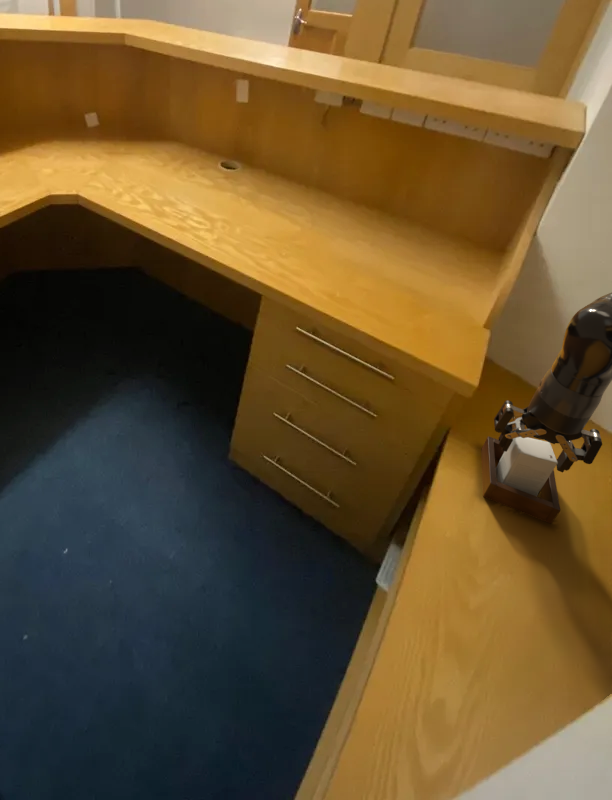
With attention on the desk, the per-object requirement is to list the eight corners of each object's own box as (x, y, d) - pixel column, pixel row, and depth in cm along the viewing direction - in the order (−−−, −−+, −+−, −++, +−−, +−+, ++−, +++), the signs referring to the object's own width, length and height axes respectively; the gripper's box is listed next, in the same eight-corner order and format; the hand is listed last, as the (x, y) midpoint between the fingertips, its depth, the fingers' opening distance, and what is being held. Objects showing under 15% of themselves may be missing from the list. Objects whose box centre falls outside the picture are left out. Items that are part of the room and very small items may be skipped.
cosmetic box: (527, 480, 97) (551, 442, 91) (533, 502, 93) (559, 463, 87) (491, 471, 99) (513, 432, 93) (496, 492, 95) (519, 453, 89)
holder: (540, 476, 98) (552, 458, 96) (548, 527, 90) (560, 510, 87) (479, 453, 102) (487, 435, 100) (480, 500, 94) (490, 483, 92)
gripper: (517, 398, 83) (486, 458, 91) (626, 433, 77) (582, 493, 86) (513, 366, 89) (484, 425, 97) (614, 396, 83) (574, 456, 91)
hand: (530, 457), depth 91 cm, fingers open, 8 cm apart
